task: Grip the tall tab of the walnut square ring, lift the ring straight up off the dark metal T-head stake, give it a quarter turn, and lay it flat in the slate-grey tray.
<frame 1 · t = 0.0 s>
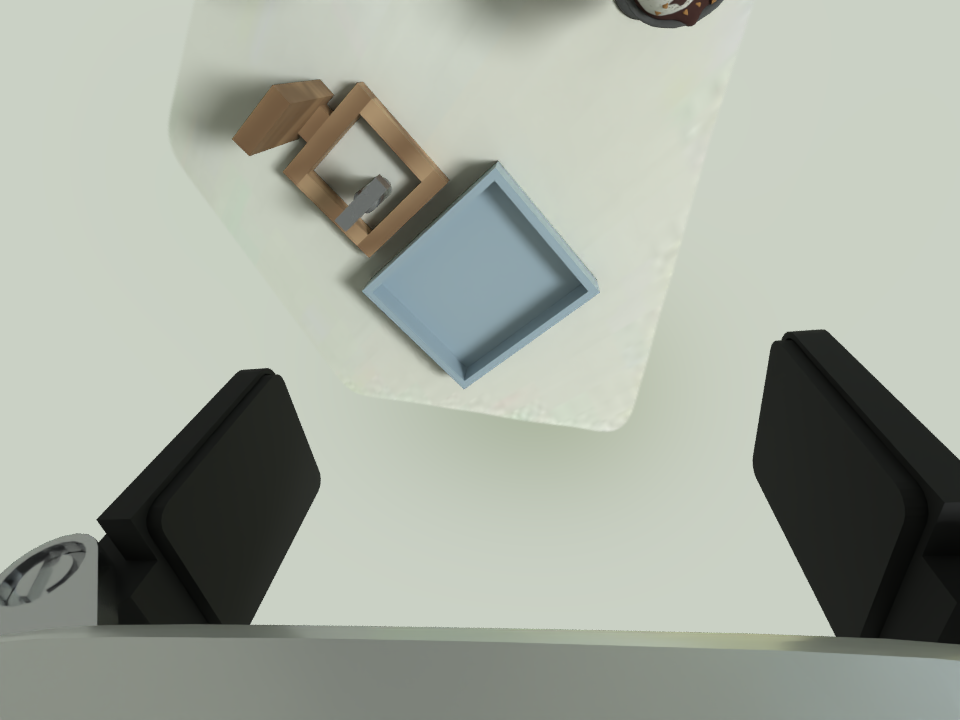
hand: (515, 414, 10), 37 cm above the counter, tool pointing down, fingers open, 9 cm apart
tray: (481, 279, 49), on the counter
ring: (368, 174, 45), on the counter
stake: (381, 187, 45), on the counter
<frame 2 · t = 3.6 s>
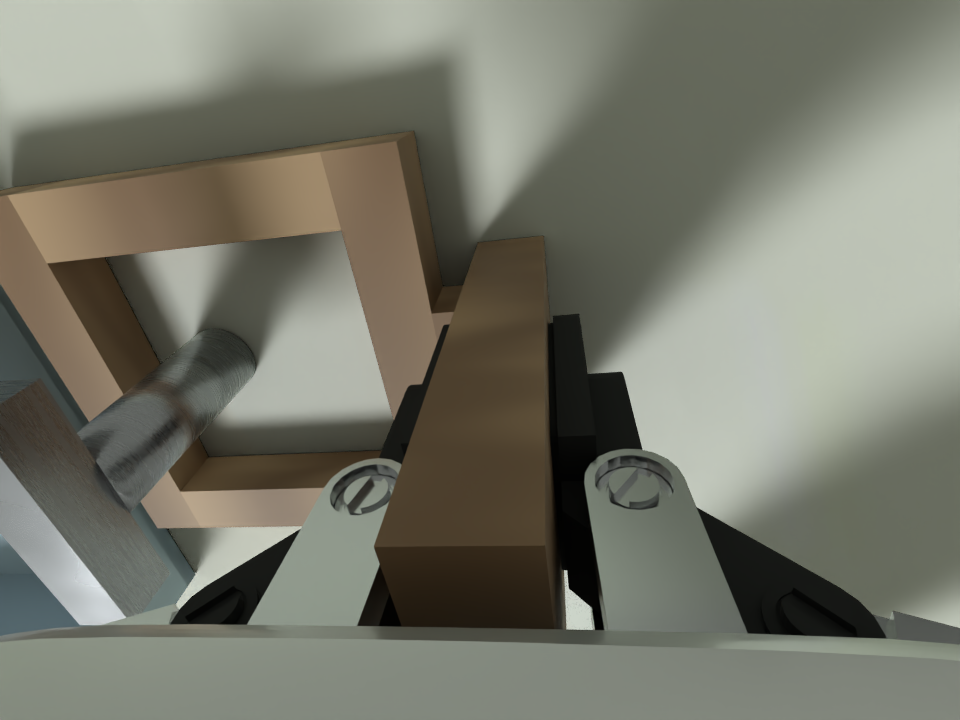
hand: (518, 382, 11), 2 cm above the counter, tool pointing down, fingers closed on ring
ring: (273, 354, 14), on the counter, touching gripper
stake: (223, 357, 14), on the counter
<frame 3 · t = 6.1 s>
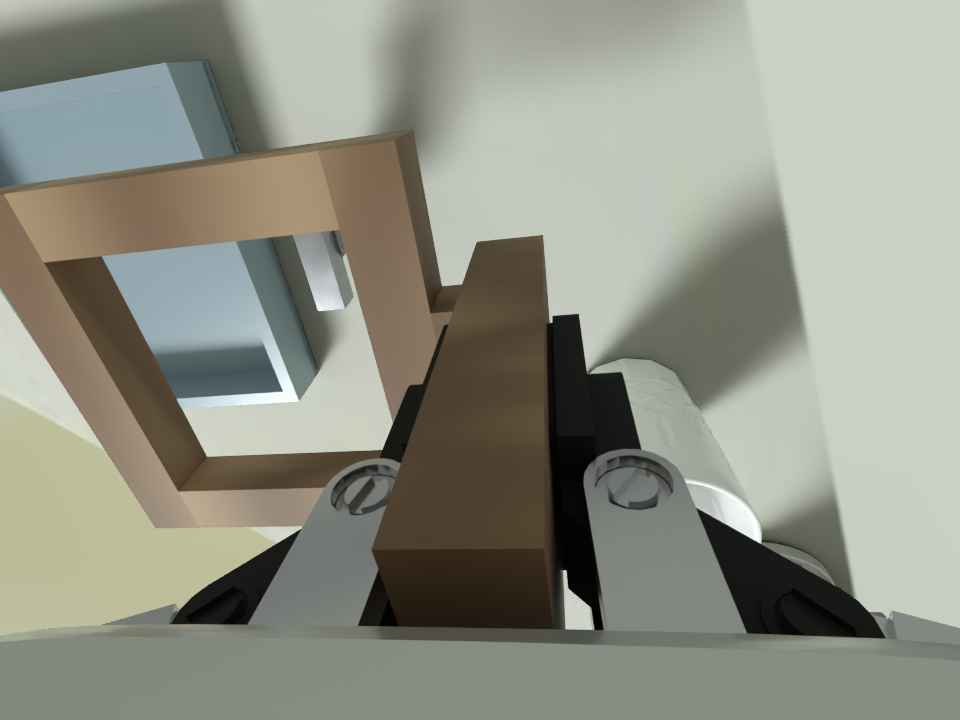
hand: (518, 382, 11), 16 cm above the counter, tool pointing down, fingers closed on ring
white cup: (626, 403, 30), on the counter
tray: (154, 253, 28), on the counter
ring: (271, 353, 14), point 14 cm above the counter, touching gripper
stake: (359, 210, 26), on the counter
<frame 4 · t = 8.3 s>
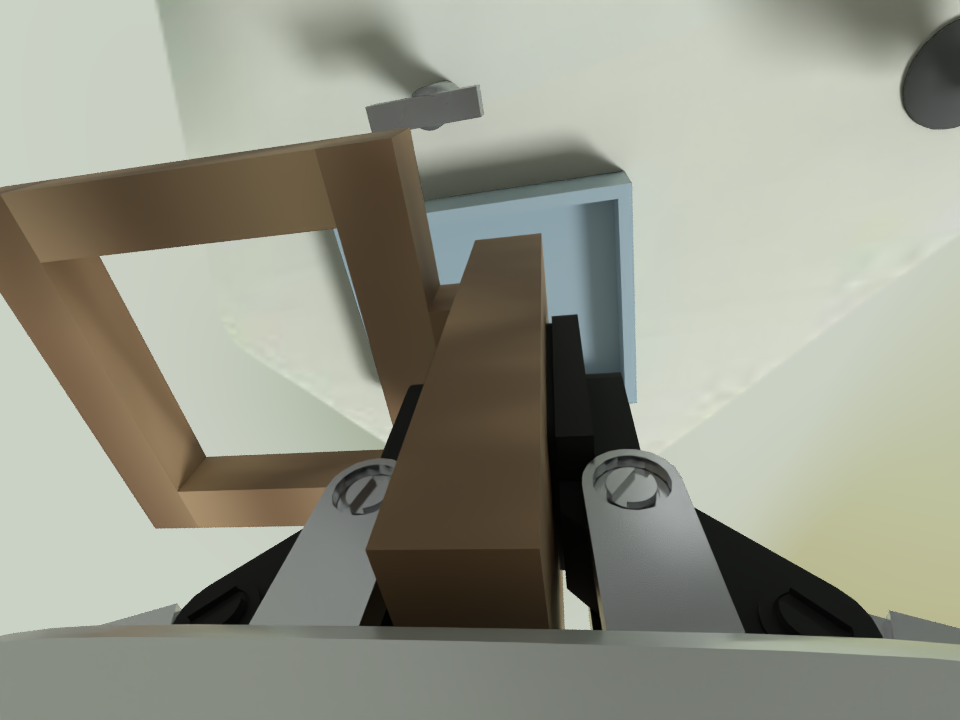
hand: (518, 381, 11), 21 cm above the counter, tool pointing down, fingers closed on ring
tray: (498, 299, 34), on the counter
ring: (270, 353, 14), point 19 cm above the counter, touching gripper
sundae: (957, 74, 25), on the counter
stake: (446, 99, 28), on the counter
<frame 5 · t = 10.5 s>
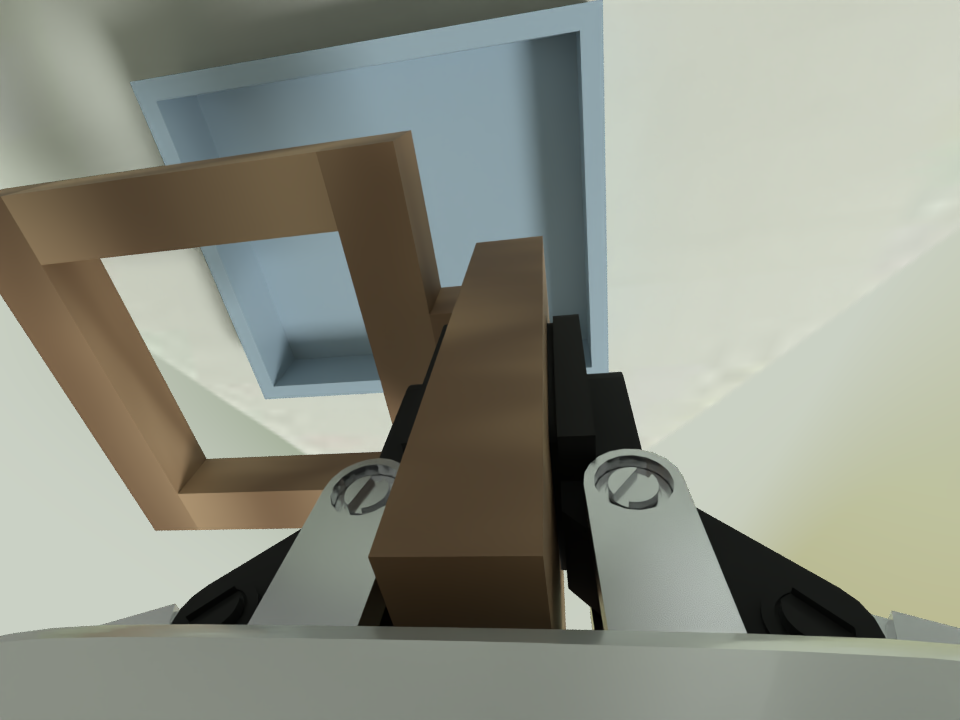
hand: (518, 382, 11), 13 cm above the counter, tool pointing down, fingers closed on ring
tray: (410, 224, 23), on the counter
ring: (270, 355, 14), point 11 cm above the counter, touching gripper
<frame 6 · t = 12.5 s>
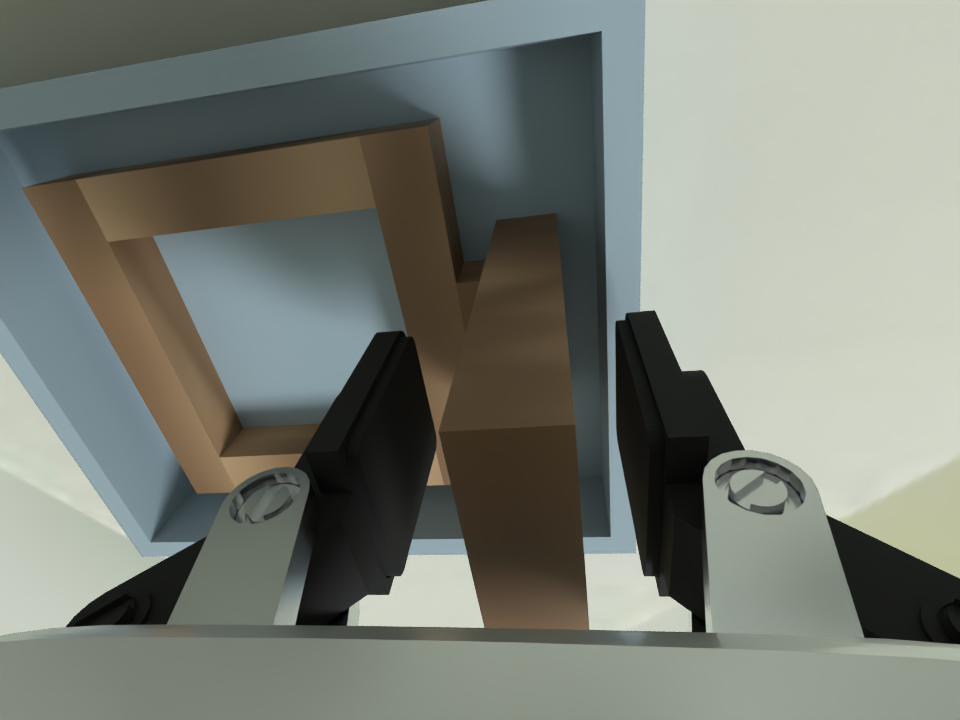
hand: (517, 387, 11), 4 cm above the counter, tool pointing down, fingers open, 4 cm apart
tray: (341, 318, 15), on the counter
ring: (306, 327, 15), resting on tray
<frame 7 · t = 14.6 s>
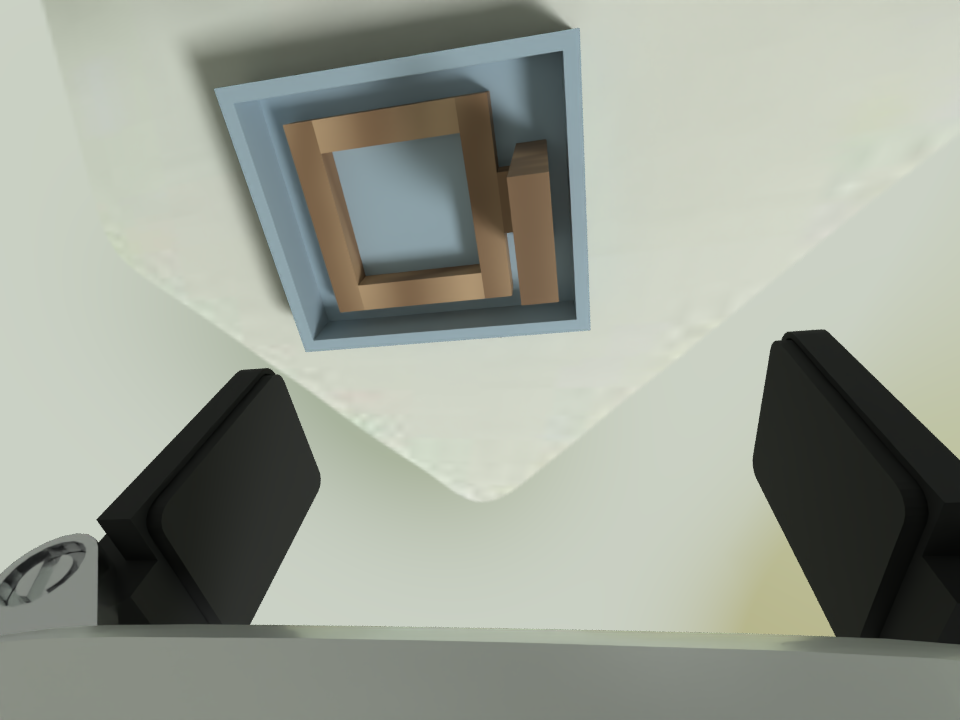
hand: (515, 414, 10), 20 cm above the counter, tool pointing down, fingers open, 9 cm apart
tray: (428, 204, 28), on the counter
ring: (410, 208, 28), resting on tray
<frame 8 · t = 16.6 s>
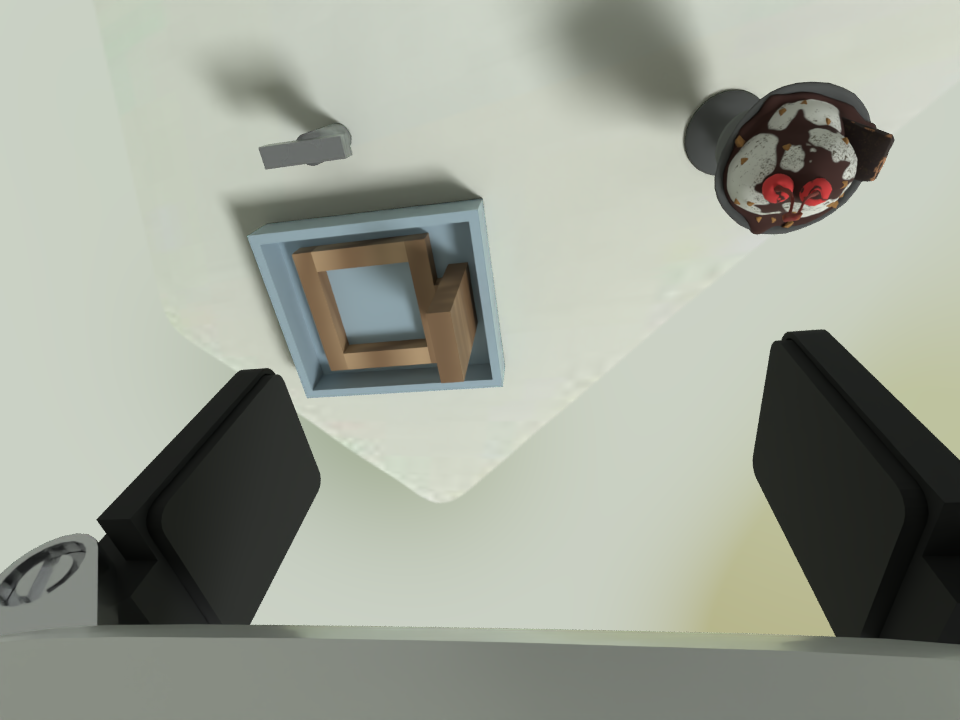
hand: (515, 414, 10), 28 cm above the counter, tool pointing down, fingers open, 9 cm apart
tray: (392, 298, 41), on the counter
ring: (379, 302, 40), resting on tray
sundae: (724, 134, 33), on the counter
stake: (338, 137, 35), on the counter
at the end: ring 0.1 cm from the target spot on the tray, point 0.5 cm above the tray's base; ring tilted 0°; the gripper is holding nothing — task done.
